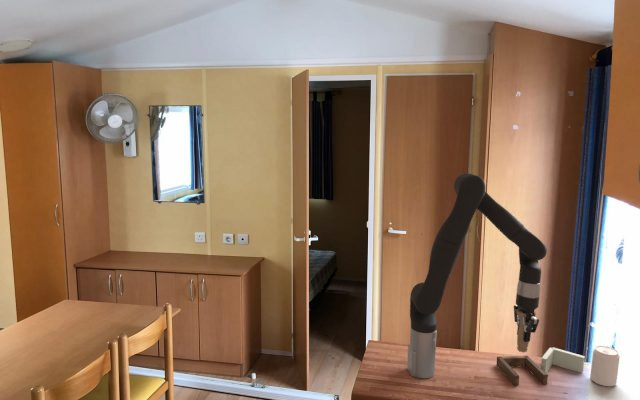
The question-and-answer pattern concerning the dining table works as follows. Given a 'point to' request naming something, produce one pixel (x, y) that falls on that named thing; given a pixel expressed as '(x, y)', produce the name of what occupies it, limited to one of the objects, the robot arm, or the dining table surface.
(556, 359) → the cream l-shaped bracket
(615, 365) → the beverage can
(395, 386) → the dining table surface
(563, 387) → the dining table surface
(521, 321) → the handle
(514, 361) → the u-shaped bracket
